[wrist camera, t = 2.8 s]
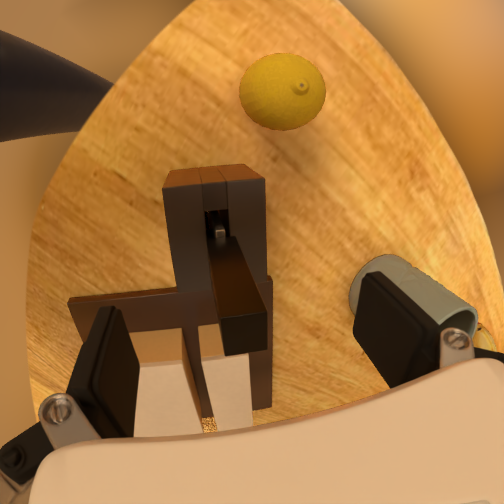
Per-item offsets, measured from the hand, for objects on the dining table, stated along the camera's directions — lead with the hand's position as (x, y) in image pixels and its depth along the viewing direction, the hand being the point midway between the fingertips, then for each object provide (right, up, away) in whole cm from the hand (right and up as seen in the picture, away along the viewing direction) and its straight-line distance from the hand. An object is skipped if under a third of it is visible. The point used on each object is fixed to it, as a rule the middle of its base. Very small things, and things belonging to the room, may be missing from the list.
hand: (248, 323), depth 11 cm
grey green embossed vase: (+15, -2, +21) cm, 26 cm away
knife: (-3, +6, +13) cm, 15 cm away
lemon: (+1, +15, +11) cm, 19 cm away
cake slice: (-3, -10, +20) cm, 22 cm away
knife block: (-3, +6, +13) cm, 15 cm away
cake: (-11, -11, +18) cm, 24 cm away
